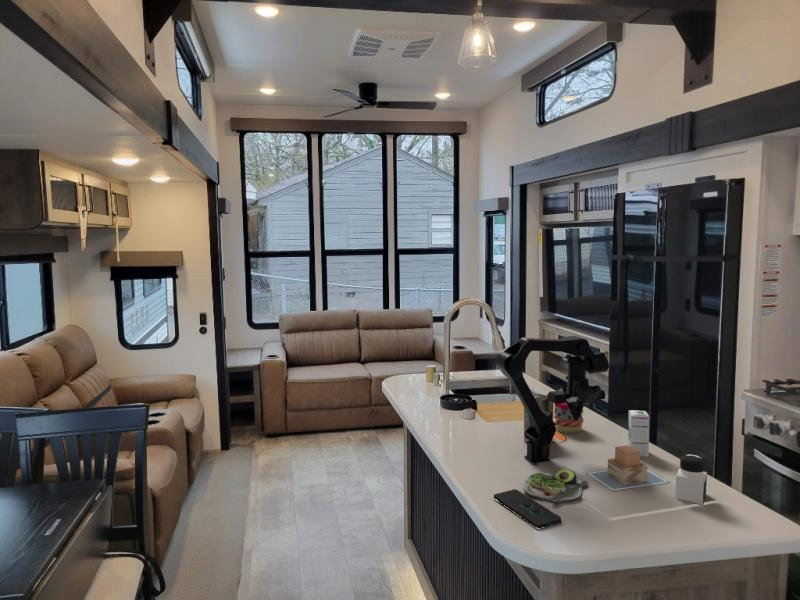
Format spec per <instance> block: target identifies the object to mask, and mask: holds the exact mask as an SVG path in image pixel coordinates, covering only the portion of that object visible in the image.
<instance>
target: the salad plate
mask: <svg viewBox="0 0 800 600" xmlns="http://www.w3.org/2000/svg"><path fill="white" fill-rule="evenodd" d="M588 483H589V482H588V481H587V480H583V481H582V480H581V479H579V478H577V474H576V473H575V471H573V470H572V469H569V468H560V469H558V470H556V471H555V472H554V473H549V472H533V473H529V474H527V476H526V477H525V480H524V483H523V486H522V487H523V488H522V490H523V491H524V492H525V494H528V495H529V496H530V497H532V498H534V497H535V499H537V500H541V499H542V500H541V501H548V500H549V502H551V503H559V502H567V501H572V500H577V499H578V498H580V497H581V495H582V489H583V488H584V487H585V486H586V485H588ZM532 487H534V488H537V489H540V490H542V491H543V494H537V493H536V492H534V491H533V489H532ZM531 489H532V490H531Z"/></svg>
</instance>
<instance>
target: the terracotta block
mask: <svg viewBox="0 0 800 600" xmlns="http://www.w3.org/2000/svg"><path fill="white" fill-rule="evenodd" d="M614 449H615V450H614V458H615V462H616V463H618V464H619V465H621V466H623V467H624V468H627V467H634V466H640V462H641V456H640V450H638V449H636V448H634V447H632V446H630V445H628V444H627V445H621V446H615V448H614Z"/></svg>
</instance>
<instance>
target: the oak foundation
mask: <svg viewBox="0 0 800 600" xmlns="http://www.w3.org/2000/svg"><path fill="white" fill-rule="evenodd" d="M647 469H648V465H647V464H646V463H643V462H642V461H640V466H634V467H627V468H624V467H623V466H621V465H619V464H618V463H616V462H615V457H614V458H608V459H607V470H608V473H607V474H608V475H610V476H611V477H613V478H614V479H616V480H617V481H619V482H620V483H622V484H624V485H625V484H632V483H639V482H645V481H647ZM648 470H649V469H648Z"/></svg>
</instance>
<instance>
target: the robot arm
mask: <svg viewBox="0 0 800 600" xmlns="http://www.w3.org/2000/svg"><path fill="white" fill-rule="evenodd" d="M532 352H562V353H566V355H565V356H564V357H562V359H561V361H562V362H564V363H567V375H566V376H565V380H567V387H566V388H565V390H564V391H565V393H564V392H563V393H562V392H560V391H558V390H552V391H548V393H547V400H549V401H551V402H553V404H554V405H555V404H562V403H565V402H566V403H567V405H568V407H569V409H570V411H571V414H572V416H573V419H574V420H575V421H578V419H579V416H580V414H581V411H582V410H584V407H585V406H586V405H587V404H589V403H591V402H592V403H594V402H595V400H597V401H599V400H600V401H601V400H605V399H606V396H607V395H606V392H605V390H604V389H602V388H601V386H600V385H590V383H589V378H586V377H587V373H588V374H601V373H607V372H608V371H609V368H610V363H609V361H608V358H607V357H606V353H605V352H603V351H598V352H594V351H593V350H592V348H591V347H590V342H589V341H588V339H585V338H582V337H580V336H576V335H570V336H564V337H562V338H541V337H540V338H534V337H533V338H532V337H525V336H524V337H521V338H519V339H518V340H517V341H516V342H515V343H513V344H511V345H510V346H508V347H507V348H506V349H504V351H502V352H499V353H498V354H497V356H496V357H495V361H494V362H495V366H496V367H497V369H498V370H499V371H500V372H501V373H502V375H504V376H505V377H506V378H507V379H508V380H509V381H510V384H511V385H512V388H513V389H514V391H515V393H516V394H517V396H518V398H519V400H520V402H521V404H522V405H523V409H524V408H525V409H526V411H527V413H528V415H529V424H530V426H529V428H528V429H527V430H526V431H525V432H524V431H523V436H524V435H525V438H526V439H528V440H529V441H527V442H526V455H524V458H525V460H527V461H528V462H529V463H531V464H532V465H537V464H539V463H544V462H546V463H547V462H551V459H550V451H551V450H550V448H551V447H550V446H551V445H552V442H553V440H554V436H555V435H556V432H557V430H556V427H555V425H556V424H555V421H554V418H553V419H552V416H551V415H550V414H549V413H547V412H545V411H543V410H541V409H540V407H539V405H538V403H537V401H536V399H535V398H534V394H533V392H532V390H531V388H530V387H529V384H528V383H527V381H526V379H525V377H524V369H523V366H522V365H523V364H524V363H525V362H526V361H527V359H528V357H529V355H530V353H532ZM572 355H573V356H572ZM572 395H573V396H572ZM552 439H553V440H552Z"/></svg>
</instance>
